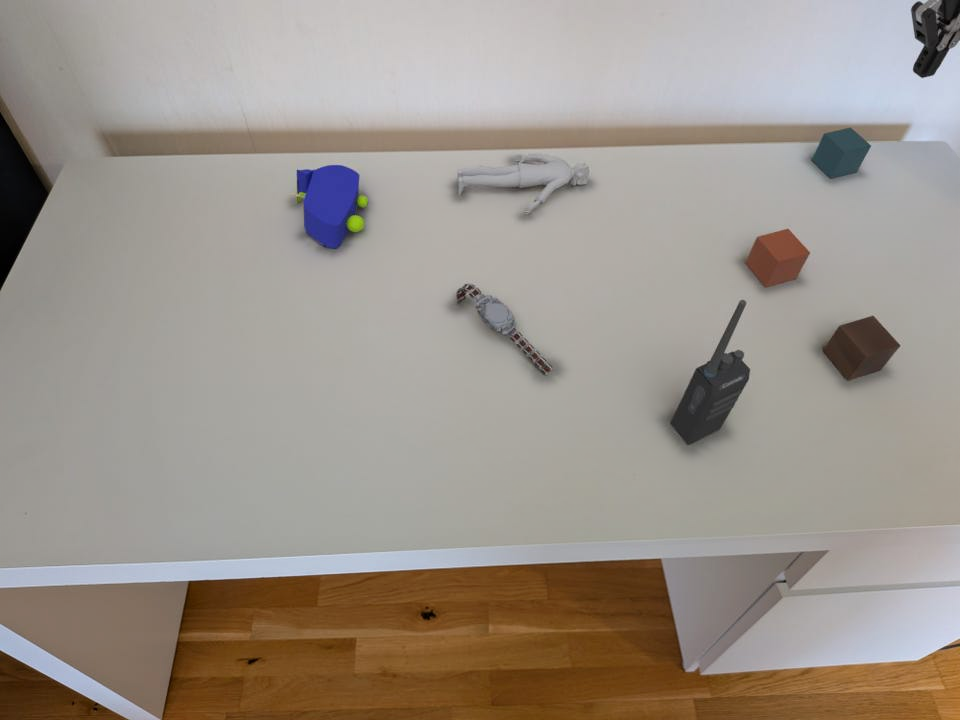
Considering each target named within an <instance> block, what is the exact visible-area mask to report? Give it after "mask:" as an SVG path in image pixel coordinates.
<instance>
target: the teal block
mask: <svg viewBox="0 0 960 720" xmlns="http://www.w3.org/2000/svg"><path fill="white" fill-rule="evenodd" d="M871 147H872V144H870V143H869V142H868V141H867V140H866V139H865V138H863V136H861V135H860V134H859V133H858V132H857V131H856V130H854V129H853V128H852V127H846V128H842V129H837V130H832V131H829V132H825V133H823V135H822V137H821V139H820V141H819V144H818V146H817V148H816V150H815V151H814V153H813V156H812V158H811V162H812V163H814V164H815V165H816V167H818V168H819V170H820V171H822V172H823V173H824V174H825V175H826V176H827V177H828V178H829V179H835V178H840V177H844V176H847V175H851V174H856V173H858V171H859V170H860V167H861V166H862V164H863V162H864V160H865V159H866V156H867V154H868V153H869V151H870V149H871Z"/></svg>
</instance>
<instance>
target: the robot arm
mask: <svg viewBox="0 0 960 720" xmlns="http://www.w3.org/2000/svg"><path fill="white" fill-rule="evenodd" d="M910 13H911V22H912V27H913V34H914V35H913V36H914V39H916V40H917V41H918V42H920V43H921V44H923V47H922V49H921V50H920V53H919V55H918V56H917V58H916V60H915V62H914V63H913V67H912V72H913V73H914V74H916V76H918V77H920V78H921V79H924V78H929V77H933V76H935V74H936V73H937V70H938V69H939V68H940V66H941V65H942V63H943V61H944V59H945V58H946V56H947V55H948V53H949V51H950V49H951V50H952V49H953V48H955V47H956V46H957V45H958V43H959V42H960V0H926V1H925V2H922V1H920V0H918V1H916V2H915V3H914V4H912V6H911V9H910Z"/></svg>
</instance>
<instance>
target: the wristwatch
mask: <svg viewBox="0 0 960 720" xmlns="http://www.w3.org/2000/svg"><path fill="white" fill-rule="evenodd" d="M467 293H468V295H469V297H470V298H471V299H474V302H475V303H476V304H475V308H476V310H477V314H478V315H479V317H480V319H481V320H482V321H483V322H484V323H483V324H485V325H487V326H488V328H490V329H491V330H492V331H493V332H495V333H500V335H502V336H507V337H508V338H509V339H510V340H511V342H512V343H514V344H515V346H516V347H517V348H518V349H519V350H521V352H522V353H523V354H524V355H525V356H527V357H528V358H527V359H529V361H531V362H532V363H534V366H535V367H536V368H537V369H540V372H541V374H542V375H544V376H547V375H548V374H549V372H550V371H551V372H552V371H553V370H554V367H553V366H552V365H551V364H550V363H549V362H548V361H547V360H546V358H544V357H543V356H542V355H541V353H540V352H539V351H538V350H537V349H536V348H535V347H534V346H533V345H532V344H531V343H530V342H529V341H528V340H527V338H525V337H523V335H522V334H521V332H520V331H518V329H517V325H518V322H517V321H516V317H515V315H514V313H513V312H512V310H510V308H509V307H508V306H507V305H506V304H505V303H504V302H503V301H502V300H501V299H500V298H497V297H493V296H492V295H491V294H486V295H485V294H484V293H482V291H481V289H480V288H479V287H476V285H475V284H472V283H464V284H463V286H461V287H459V288H458V289H456V292H455V294H456V295H455V297H456V304H455V305H456V306H459V304H460V303H462V302H463V301H465V300H466V298H467V296H466V295H467ZM478 295H479V297H477V296H478Z"/></svg>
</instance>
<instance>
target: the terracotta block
mask: <svg viewBox="0 0 960 720" xmlns="http://www.w3.org/2000/svg"><path fill="white" fill-rule="evenodd" d="M810 255H811V251H810V250H808V248H807V247H806V246H805V245H804V244H803V243H802V242H801V240H799V238H798V237H796V235H795V234H794V233H793V232H792V230H790V229H789V228H785V229H781V230H777V231H774V232H769V233H766V234H762V235H759V236H756V238H755V240H754V242H753V245H752V246H751V248H750V252H749V253H748V256H747V259H746V260H745V265H746V266H747V267H748V269H750V271H751V272H752V273H753V274H754V276H755V277H756V278H757V279H758V280H759V282H760V283H761V284H762V285H763V287H764V288H769V287H773V286H776V285H780V284H784V283H787V282H790V281H793V280H797V278H798V276H799V274H800V273H801V271H802V269H803V268H804V266H805V263H806V262H807V260H808V258H809V257H810Z"/></svg>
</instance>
